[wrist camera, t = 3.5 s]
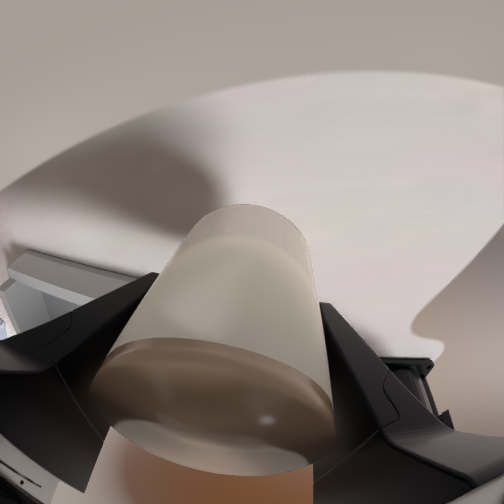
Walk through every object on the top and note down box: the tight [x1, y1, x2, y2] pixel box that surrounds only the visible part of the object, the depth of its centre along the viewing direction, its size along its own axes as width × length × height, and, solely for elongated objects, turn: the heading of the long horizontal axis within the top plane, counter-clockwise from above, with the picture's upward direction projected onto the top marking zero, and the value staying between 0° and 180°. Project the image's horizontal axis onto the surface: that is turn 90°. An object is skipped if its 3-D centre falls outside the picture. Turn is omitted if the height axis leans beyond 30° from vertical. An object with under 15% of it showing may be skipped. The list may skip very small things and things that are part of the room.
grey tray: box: [0, 250, 138, 334], centre depth 17 cm, size 17×9×5 cm, turn 82°
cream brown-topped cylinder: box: [90, 204, 336, 476], centre depth 8 cm, size 5×5×7 cm
